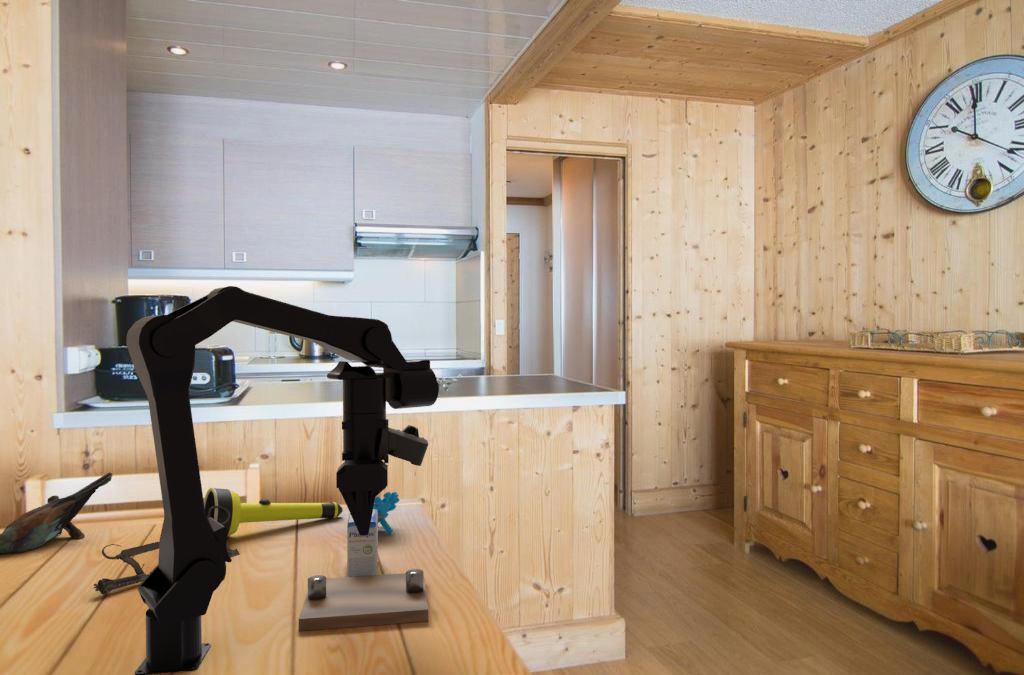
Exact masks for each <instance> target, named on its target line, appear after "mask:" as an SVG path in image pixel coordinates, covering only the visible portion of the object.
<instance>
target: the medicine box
mask: <svg viewBox="0 0 1024 675" xmlns="http://www.w3.org/2000/svg"><path fill="white" fill-rule="evenodd" d="M378 528H379V523H378V511H377V509H373V512H372V518H371V523H370V529H369V534H368V535H360V534H359V532H358V530H357V527H356V525H355V523H354V520H353V518H352V516H351V514H350V513H349V515H348V520H347V529H346V532H347V534H346V536H347V537H346V539H347V540H346V541H347V546H346V547H347V551H346V552H347V557H346V558H347V577H355V576H370V575H378V559H379V558H378V555H379V554H378V553H379V550H378V548H379V545H378V544H379V542H378V541H379V537H378V536H379V532H378V531H379V529H378Z"/></svg>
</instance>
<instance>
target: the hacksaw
mask: <svg viewBox="0 0 1024 675" xmlns="http://www.w3.org/2000/svg"><path fill="white" fill-rule="evenodd" d="M213 508H221V509H223V510H224V511H226V513H228V517H227V520H226V521H225V522H223V523H220V524H221V525H224V524H226V523H227V522H228V520H229V518H230V513H229V512H228V510H227V509H225V508H224V507H221V506H212V507H211V508H210V509H209V511H208V516H207V518H210V512H211V510H212V509H213ZM159 542H160V541H155V542H150V543H147V544H143V545H140V546H134V547H133V546H132V547H130V548H126V549H122V550H121V551H120V553H119V554H116V555H115V556H109V555H107V553H105V550H106V549H107V547H109V546H117V547H123V546H122V545H119V544H113V543H110V544H108V545H105V546H104V547H103V548H102V550H101V554H102V556H103V557H104V558H105V559H108V560H112V561H113V560H117V561H118V560H121V561H123V563H126V564H127V565H130V566H131V567H132V568H133V570H134V572H135V575H130V576H126V577H125V576H124V577H120V578H117V579H116V578H115V579H110V578H101V579H99V580H98V581H97V583H94V584H93V586H94V587H93V589H94V590H95V592H100V594H101V595H106V594H108V593H109V592H111V591H114V590H116V589H120V588H124V587H127V586H130V585H134V584H140V583H142V581H143V580H144V579H145V578H146V577H147V576H148V575H149V574H150V573H151V571H150V572H149V573H148V574H147V573H145V572H144V569H143V567H144V566H145V565H146V564H145V563H144V564H142V567H141V565H140V563H139V562H138V561H137V560H136V559H134V558H133V557H135V556H137V555H142V554H145V553H148V552H152V551H156V550H159ZM226 545H227V552H228V555H229V556H230V558H231V559H232V558H234V557H237V556H239V555H240V554H241V553H240V551H239V550H238V548H234V549H231V548H230V546H229V545H228V543H227V544H226Z"/></svg>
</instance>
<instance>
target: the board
mask: <svg viewBox="0 0 1024 675" xmlns="http://www.w3.org/2000/svg"><path fill="white" fill-rule="evenodd" d="M304 598H305V599H304V601H303V604H302V608H301V611H300V613H299V617H298V632H302V631H303V632H304V631H306V632H307V631H317V630H318V631H320V630H328V629H329V630H331V629H343V628H357V627H369V626H383V625H394V624H396V625H397V624H407V623H408V624H410V623H420V622H421V623H423V622H429V605H428V597H427V590H426V582H425V574H424V570H423V569H419V568H414V569H413V568H412V569H408V570H406V571H405V572H404V573H402V572H401V573H389V574H388V573H387V574H377V575H370V576H355V577H348V576H342V577H341V576H340V577H327V576H325V575H323V574H321V575H320V574H319V575H312V576H309V577H308V578H307V592H306V595H305V597H304Z"/></svg>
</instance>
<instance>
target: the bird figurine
mask: <svg viewBox="0 0 1024 675" xmlns="http://www.w3.org/2000/svg"><path fill="white" fill-rule="evenodd" d="M112 477H113V472H107V473H106V474H104V475H102V476H101V477H99V478H97V479H96V480H94V481H93V482H91V483H89V484H88V485H85V487H83V488H81V489H79V490H77V491H76V492H75V493H73V494H70V495H67V496H65V497H61V498H60V497H59V495H51V496H50V497H48V498H47V503H44V504H43V505H41V506H38V507H36V508H33V509H30V510H29V511H26V512H24V513H22V514H21V515H20V516H19V517H17V518H16V519H13V521H11V523H9V524H8V525H7V526H6V527H5V528H4V529H3V531H2V532H1V533H0V554H11V553H14V554H15V553H16V554H17V553H24V552H29V551H31V550H34V549H35V550H36V549H37V548H40V547H41V546H43V545H44V544H45V543H47V542H48V541H50V540H52V539H53V538H54V537H55V536H58V534H60V535H62V534H63V531H64V530H65V532H67V534H68V536H69V537H70V538H72V539H75V540H80V539H83V538H85V536H86V535H85V534H84V533H83V531H82V530H81V529H80V528H78V527H77V526H76V525H75V524H73V523H72V520H73V519H74V518H75V517H76V516H77V515H78V514H79V512H80V511H81V510H82V509H83V507H84V506H85V505H86V504H87V503H88V501H89V500H90V499H91V497H92V495H94V494H95V492H97V490H98V489H99V488H100V487H103V486H106V485H107V484H109V483H110V482H111V481H112ZM61 533H62V534H61Z"/></svg>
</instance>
